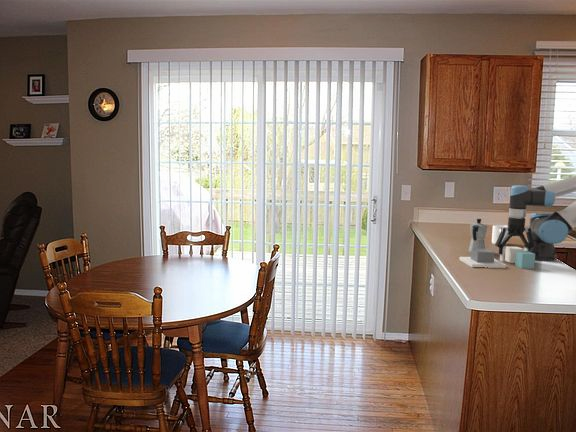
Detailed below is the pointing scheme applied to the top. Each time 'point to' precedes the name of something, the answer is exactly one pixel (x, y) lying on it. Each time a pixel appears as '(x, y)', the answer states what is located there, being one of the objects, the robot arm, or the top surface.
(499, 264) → the tower base
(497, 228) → the mug
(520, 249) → the cream block
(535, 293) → the top surface
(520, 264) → the teal block
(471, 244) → the coffee maker
